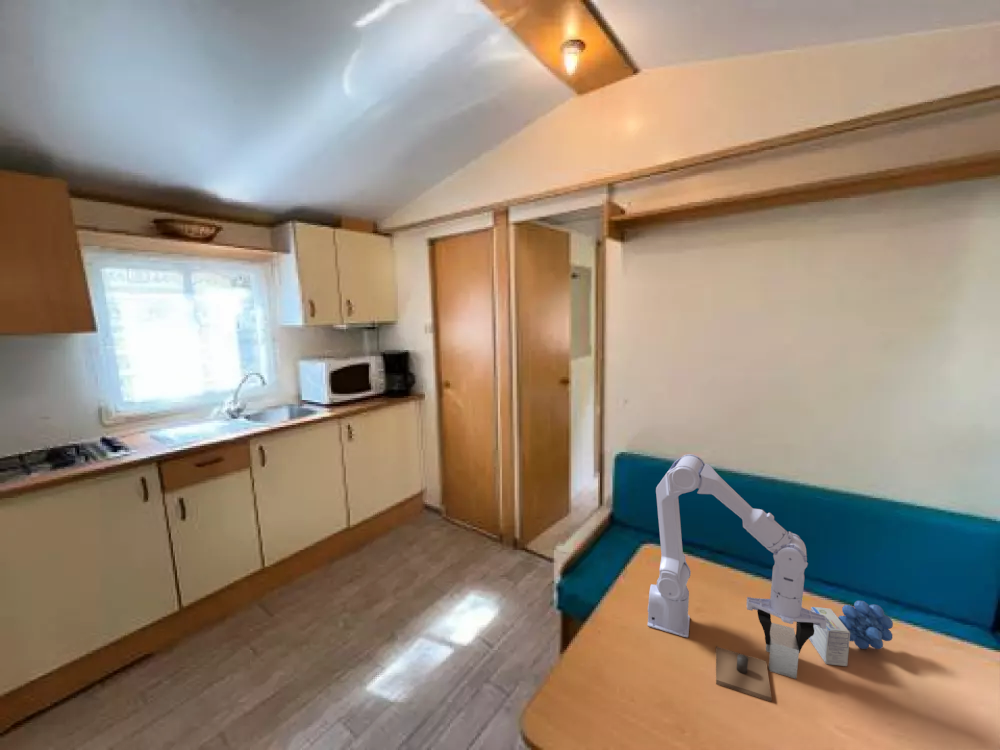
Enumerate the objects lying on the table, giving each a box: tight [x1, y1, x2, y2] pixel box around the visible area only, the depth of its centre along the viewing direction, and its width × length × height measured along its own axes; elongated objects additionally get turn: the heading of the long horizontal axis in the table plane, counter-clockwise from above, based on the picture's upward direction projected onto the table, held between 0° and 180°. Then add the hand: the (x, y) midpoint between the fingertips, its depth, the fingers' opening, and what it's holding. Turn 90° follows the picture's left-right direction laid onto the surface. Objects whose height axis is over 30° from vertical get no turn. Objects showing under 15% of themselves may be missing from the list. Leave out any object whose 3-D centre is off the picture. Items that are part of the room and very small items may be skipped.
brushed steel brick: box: [765, 621, 800, 680], centre depth 95 cm, size 5×7×7 cm
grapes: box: [837, 600, 894, 650], centre depth 98 cm, size 12×7×12 cm, turn 83°
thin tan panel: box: [715, 645, 772, 703], centre depth 93 cm, size 10×10×4 cm
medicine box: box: [808, 606, 851, 667], centre depth 98 cm, size 8×4×9 cm, turn 168°
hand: (781, 645), depth 95 cm, fingers closed on brushed steel brick, 5 cm apart
